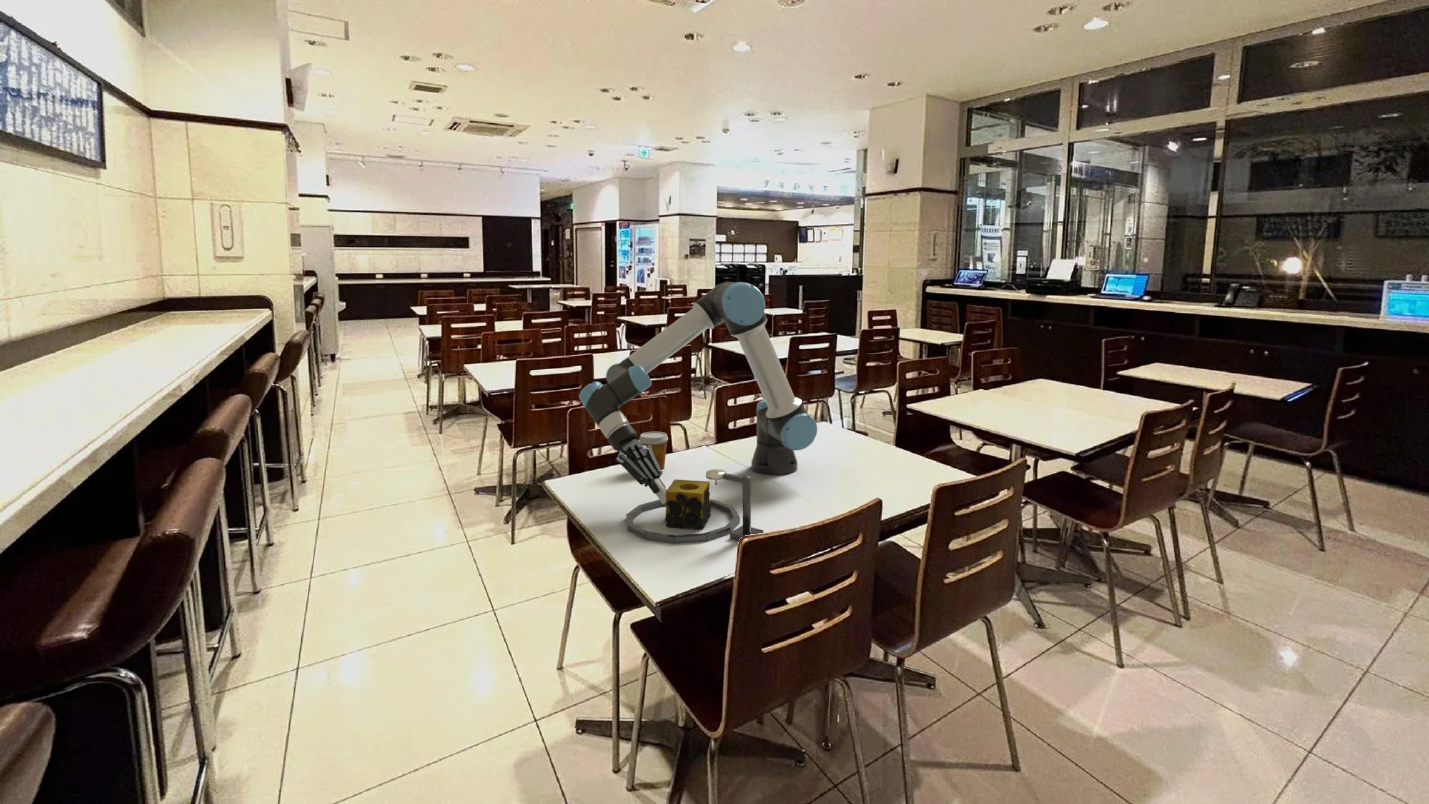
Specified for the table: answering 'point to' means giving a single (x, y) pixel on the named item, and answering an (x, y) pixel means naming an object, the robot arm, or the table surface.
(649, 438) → the disposable coffee cup
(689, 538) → the ring
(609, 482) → the table surface
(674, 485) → the yellow and black cube
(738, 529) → the dial indicator stand
